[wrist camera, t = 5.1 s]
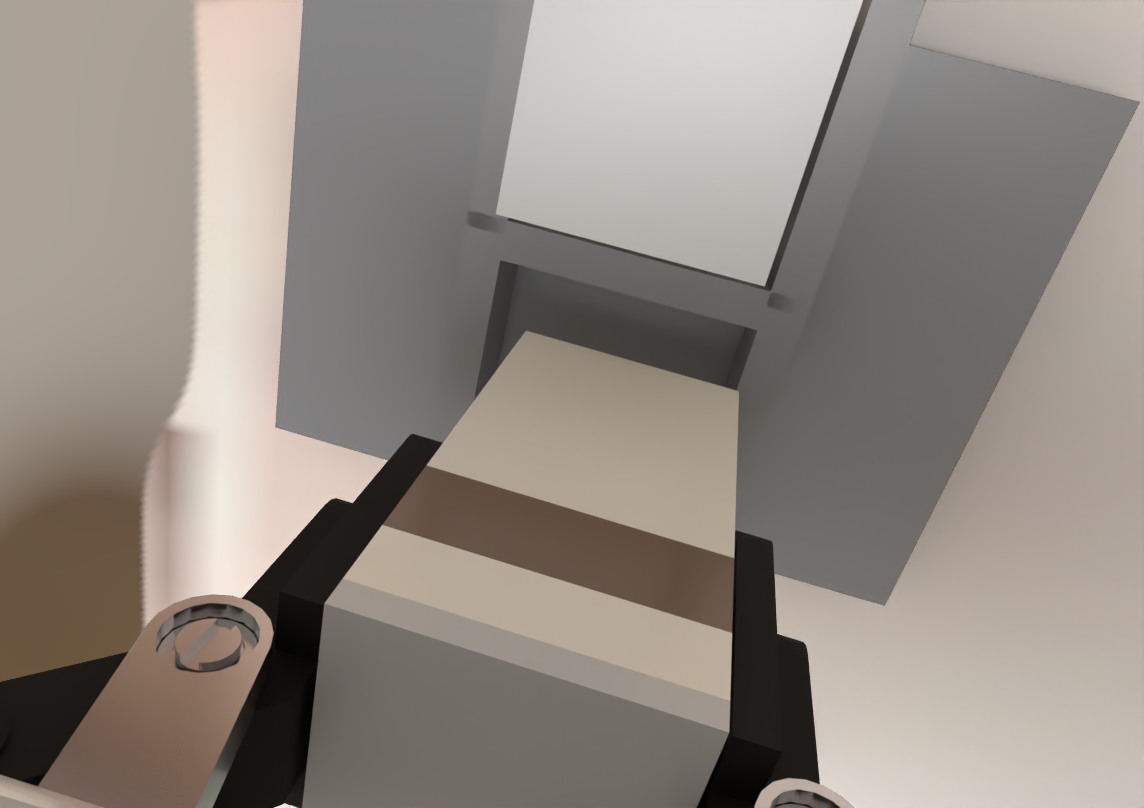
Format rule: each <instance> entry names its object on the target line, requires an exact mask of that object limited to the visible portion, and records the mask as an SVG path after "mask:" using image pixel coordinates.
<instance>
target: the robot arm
mask: <svg viewBox="0 0 1144 808" xmlns="http://www.w3.org/2000/svg"><path fill="white" fill-rule="evenodd" d="M442 444H443V442H439V441H436V440H433V439H429V438H426V437H423V436H419V435H416V434H411V435H410V436H408V438H407V439H406V440H405V441H404V442H403V444H402V445H401V446H400V447H399V448H398V450H397V451H396V452H395V453H394V454H393V456H392V457H391V458H390V459H389V460H388V462H387V463H386V464H385V465H384V466H383V468H382V469H381V470H380V471H379V472H378V474H377V475H376V476H375V477H374V478H373V480H372V481H371V482H370V483H369V484H368V486H367V487H366V488H365V489H364V490H363V492H362V493H361V494H360V495H359V496H358V498H357V499H356V500H355V501H354V502H353V503H350V502H346V501H343V500H340V499H337V498H336V499H331V500H330V501H329V502H328V503H327V504H326V505H325V506H324V507H323V508H322V509H321V510H320V511H319V512H318V513H317V515H316V516H315V517H314V518H313V519H312V520H311V521H310V522H309V524H308V525H307V526H306V527H305V528H304V529H303V530H302V531H301V533H300V534H299V535H298V536H297V537H296V538H295V539H294V540H293V542H292V543H291V544H290V545H289V546H288V547H287V548H286V549H285V551H284V552H283V553H282V554H281V555H280V556H279V557H278V558H277V560H276V561H275V562H274V563H273V564H272V565H271V566H270V567H269V569H268V570H267V571H266V572H265V573H264V574H263V575H262V576H261V578H260V579H259V580H258V581H257V582H256V583H255V584H254V585H253V587H252V588H251V589H250V590H249V591H248V592H247V593H246V594H245V596H244V597H243V598H242V599H241V598H238V597H234V596H227V595H205V596H198V597H192V598H189V599H186V600H183V601H180V602H177V603H174V604H172V605H171V606H169V607H168V608H166V609H164V610H163V611H161V612H159V613H158V614H157V615H156V616H155V617H154V618H153V619H152V620H151V621H150V622H149V623H148V624H147V625H146V627H145V628H144V630H143V631H142V633H141V634H140V636H139V637H138V639H137V640H136V642H135V643H134V645H133V646H132V648H131V649H130V651H129V652H126V653H121V654H118V655H113V656H109V657H104V658H101V659H96V660H92V661H87V662H83V663H79V664H75V665H70V666H66V667H62V668H58V669H53V670H49V671H45V672H41V673H36V674H32V675H28V676H24V677H20V678H16V679H11V680H7V681H2V682H0V808H274V807H277V806H279V805H282V804H284V803H285V804H288V805H291V806H294V807H297V808H302V804H303V795H304V786H305V777H306V768H307V758H308V749H309V740H310V731H311V722H312V713H313V704H314V694H315V685H316V676H317V667H318V658H319V649H320V640H321V630H322V621H323V612H324V603H325V602H326V601H327V599H328V598H329V597H330V595H331V594H332V593H333V591H334V590H335V588H336V587H337V586H338V584H339V583H340V582H341V580H342V579H343V578H344V576H345V575H346V574H347V572H348V571H349V570H350V568H351V567H352V565H353V564H354V563H355V561H356V560H357V559H358V557H359V556H360V555H361V553H362V552H363V551H364V549H365V548H366V546H367V545H368V544H369V542H370V541H371V540H372V538H373V537H374V536H375V534H376V533H377V532H378V530H379V529H380V528H381V526H382V525H383V523H384V522H385V521H386V519H387V518H388V517H389V515H390V514H391V513H392V511H393V510H394V509H395V507H396V506H397V505H398V503H399V502H400V500H401V499H402V498H403V496H404V495H405V494H406V492H407V491H408V490H409V488H410V487H411V486H412V484H413V483H414V482H415V480H416V479H417V477H418V476H419V475H420V473H421V472H422V471H423V469H424V468H425V467H426V465H427V464H428V463H429V461H430V460H431V458H432V457H433V456H434V454H435V453H436V452H437V450H438V449H439V448H440V446H441V445H442ZM697 808H854V807H853V806H852V805H851V804H850V803H849V802H847V801H846V800H845V799H844V798H843V797H842V796H840V795H838V794H837V793H835V792H833V791H832V790H830V789H828V788H827V787H825V786H823V785H820V782H819V771H818V760H817V749H816V738H815V727H814V716H813V706H812V695H811V684H810V673H809V662H808V653H807V648H806V645H805V644H804V643H803V642H801V641H798V640H795V639H792V638H788V637H785V636H782V635H779V634H777V622H776V599H775V577H774V554H773V542H772V541H771V540H767V539H764V538H761V537H757V536H754V535H751V534H747V533H744V532H741V531H737V530H736V531H735V549H734V584H733V620H732V655H731V690H730V726H729V734H728V737H727V739H726V741H725V744H724V746H723V748H722V750H721V753H720V755H719V757H718V760H717V762H716V764H715V767H714V769H713V771H712V773H711V776H710V778H709V780H708V783H707V785H706V787H705V790H704V792H703V794H702V796H701V799H700V801H699V803H698V806H697Z"/></svg>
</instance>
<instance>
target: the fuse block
mask: <svg viewBox="0 0 1144 808" xmlns="http://www.w3.org/2000/svg"><path fill="white" fill-rule="evenodd" d="M925 1H926V0H303V14H302V29H301V44H300V60H299V75H298V90H297V105H296V121H295V136H294V151H293V167H292V182H291V197H290V212H289V228H288V243H287V258H286V274H285V289H284V304H283V319H282V335H281V350H280V365H279V381H278V396H277V411H276V426H275V427H276V428H280V429H283V430H286V431H290V432H293V433H297V434H300V435H304V436H307V437H310V438H314V439H317V440H321V441H324V442H327V443H331V444H334V445H338V446H341V447H345V448H348V449H351V450H355V451H358V452H362V453H365V454H368V455H372V456H375V457H379V458H382V459H385V460H389V459H390V458H391V457H392V456H393V454H394V453H395V452H396V451H397V450H398V448H399V447H400V446H401V445H402V444H403V442H404V441H405V440H406V439H407V438H408V436H410V435H411V434H416V435H419V436H423V437H426V438H429V439H433V440H436V441H439V442H444V441H445V440H446V438H447V437H448V435H449V434H450V433H451V431H452V430H453V429H454V427H455V426H456V425H457V423H458V422H459V421H460V419H461V418H462V417H463V415H464V414H465V412H466V411H467V410H468V408H469V407H470V406H471V404H472V403H473V402H474V400H475V399H476V398H477V396H478V395H479V394H480V392H481V391H482V389H483V388H484V387H485V385H486V384H487V383H488V381H489V380H490V379H491V377H492V376H493V375H494V373H495V372H496V370H497V369H498V368H499V366H500V365H501V364H502V362H503V361H504V360H505V358H506V357H507V356H508V354H509V353H510V352H511V350H512V349H513V347H514V346H515V345H516V343H517V342H518V341H519V339H520V338H521V337H522V335H523V334H524V333H525V331H529V332H533V333H536V334H540V335H543V336H547V337H550V338H554V339H557V340H561V341H564V342H568V343H571V344H575V345H578V346H582V347H585V348H589V349H592V350H596V351H599V352H603V353H606V354H610V355H613V356H617V357H620V358H624V359H627V360H631V361H634V362H638V363H641V364H645V365H648V366H652V367H655V368H659V369H662V370H666V371H670V372H673V373H677V374H680V375H684V376H687V377H691V378H694V379H698V380H701V381H705V382H708V383H712V384H715V385H719V386H722V387H726V388H729V389H733V390H736V391H739V408H738V443H737V478H736V514H735V531H736V530H737V531H741V532H744V533H747V534H751V535H754V536H757V537H761V538H764V539H767V540H771V541H772V542H773V554H774V573H775V574H778V575H782V576H785V577H788V578H792V579H795V580H799V581H802V582H805V583H809V584H812V585H816V586H819V587H823V588H826V589H829V590H833V591H836V592H840V593H843V594H846V595H850V596H853V597H857V598H860V599H864V600H867V601H870V602H874V603H877V604H881V605H884V606H885V604H886V602H887V600H888V598H889V596H890V594H891V592H892V590H893V588H894V586H895V584H896V583H897V581H898V579H899V577H900V575H901V573H902V571H903V569H904V567H905V565H906V563H907V561H908V559H909V557H910V555H911V553H912V551H913V549H914V547H915V545H916V543H917V541H918V539H919V537H920V535H921V533H922V531H923V529H924V527H925V525H926V523H927V521H928V519H929V517H930V515H931V513H932V511H933V509H934V508H935V506H936V504H937V502H938V500H939V498H940V496H941V494H942V492H943V490H944V488H945V486H946V484H947V482H948V480H949V478H950V476H951V474H952V472H953V470H954V468H955V466H956V464H957V462H958V460H959V458H960V456H961V454H962V452H963V450H964V448H965V446H966V444H967V442H968V440H969V438H970V436H971V434H972V433H973V431H974V429H975V427H976V425H977V423H978V421H979V419H980V417H981V415H982V413H983V411H984V409H985V407H986V405H987V403H988V401H989V399H990V397H991V395H992V393H993V391H994V389H995V387H996V385H997V383H998V381H999V379H1000V377H1001V375H1002V373H1003V371H1004V369H1005V367H1006V365H1007V363H1008V361H1009V359H1010V357H1011V356H1012V354H1013V352H1014V350H1015V348H1016V346H1017V344H1018V342H1019V340H1020V338H1021V336H1022V334H1023V332H1024V330H1025V328H1026V326H1027V324H1028V322H1029V320H1030V318H1031V316H1032V314H1033V312H1034V310H1035V308H1036V306H1037V304H1038V302H1039V300H1040V298H1041V296H1042V294H1043V292H1044V290H1045V288H1046V286H1047V284H1048V282H1049V281H1050V279H1051V277H1052V275H1053V273H1054V271H1055V269H1056V267H1057V265H1058V263H1059V261H1060V259H1061V257H1062V255H1063V253H1064V251H1065V249H1066V247H1067V245H1068V243H1069V241H1070V239H1071V237H1072V235H1073V233H1074V231H1075V229H1076V227H1077V225H1078V223H1079V221H1080V219H1081V217H1082V215H1083V213H1084V211H1085V209H1086V207H1087V206H1088V204H1089V202H1090V200H1091V198H1092V196H1093V194H1094V192H1095V190H1096V188H1097V186H1098V184H1099V182H1100V180H1101V178H1102V176H1103V174H1104V172H1105V170H1106V168H1107V166H1108V164H1109V162H1110V160H1111V158H1112V156H1113V154H1114V152H1115V150H1116V148H1117V146H1118V144H1119V142H1120V140H1121V138H1122V136H1123V134H1124V132H1125V131H1126V129H1127V127H1128V125H1129V123H1130V121H1131V119H1132V117H1133V115H1134V113H1135V111H1136V109H1137V107H1138V105H1139V103H1140V102H1138V101H1134V100H1130V99H1126V98H1122V97H1118V96H1114V95H1110V94H1106V93H1102V92H1098V91H1094V90H1089V89H1085V88H1081V87H1077V86H1073V85H1069V84H1065V83H1061V82H1057V81H1053V80H1049V79H1045V78H1041V77H1037V76H1033V75H1029V74H1025V73H1021V72H1017V71H1013V70H1009V69H1004V68H1000V67H996V66H992V65H988V64H984V63H980V62H976V61H972V60H968V59H964V58H960V57H956V56H952V55H948V54H944V53H940V52H936V51H932V50H928V49H924V48H919V47H915V46H911V45H909V44H910V41H911V39H912V36H913V33H914V31H915V28H916V25H917V23H918V20H919V17H920V15H921V12H922V9H923V7H924V4H925Z"/></svg>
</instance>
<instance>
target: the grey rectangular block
mask: <svg viewBox="0 0 1144 808" xmlns="http://www.w3.org/2000/svg"><path fill="white" fill-rule="evenodd" d="M738 408H739V391H736V390H733V389H729V388H726V387H722V386H719V385H715V384H712V383H708V382H705V381H701V380H698V379H694V378H691V377H687V376H684V375H680V374H677V373H673V372H670V371H666V370H662V369H659V368H655V367H652V366H648V365H645V364H641V363H638V362H634V361H631V360H627V359H624V358H620V357H617V356H613V355H610V354H606V353H603V352H599V351H596V350H592V349H589V348H585V347H582V346H578V345H575V344H571V343H568V342H564V341H561V340H557V339H554V338H550V337H547V336H543V335H540V334H536V333H533V332H529V331H525V333H524V334H523V335H522V337H521V338H520V339H519V341H518V342H517V343H516V345H515V346H514V347H513V349H512V350H511V352H510V353H509V354H508V356H507V357H506V358H505V360H504V361H503V362H502V364H501V365H500V366H499V368H498V369H497V370H496V372H495V373H494V375H493V376H492V377H491V379H490V380H489V381H488V383H487V384H486V385H485V387H484V388H483V389H482V391H481V392H480V394H479V395H478V396H477V398H476V399H475V400H474V402H473V403H472V404H471V406H470V407H469V408H468V410H467V411H466V412H465V414H464V415H463V417H462V418H461V419H460V421H459V422H458V423H457V425H456V426H455V427H454V429H453V430H452V431H451V433H450V434H449V435H448V437H447V438H446V440H445V441H444V442H443V444H442V445H441V446H440V448H439V449H438V450H437V452H436V453H435V454H434V456H433V457H432V458H431V460H430V461H429V463H428V464H427V465H426V467H425V468H424V469H423V471H422V472H421V473H420V475H419V476H418V477H417V479H416V480H415V482H414V483H413V484H412V486H411V487H410V488H409V490H408V491H407V492H406V494H405V495H404V496H403V498H402V499H401V500H400V502H399V503H398V505H397V506H396V507H395V509H394V510H393V511H392V513H391V514H390V515H389V517H388V518H387V519H386V521H385V522H384V523H383V525H382V526H381V528H380V529H379V530H378V532H377V533H376V534H375V536H374V537H373V538H372V540H371V541H370V542H369V544H368V545H367V546H366V548H365V549H364V551H363V552H362V553H361V555H360V556H359V557H358V559H357V560H356V561H355V563H354V564H353V565H352V567H351V568H350V570H349V571H348V572H347V574H346V575H345V576H344V578H343V579H342V580H341V582H340V583H339V584H338V586H337V587H336V588H335V590H334V591H333V593H332V594H331V595H330V597H329V598H328V599H327V601H326V602H325V603H324V612H323V621H322V630H321V640H320V649H319V658H318V667H317V676H316V685H315V694H314V704H313V713H312V722H311V731H310V740H309V749H308V758H307V768H306V777H305V786H304V795H303V804H302V808H697V806H698V803H699V801H700V799H701V796H702V794H703V792H704V790H705V787H706V785H707V783H708V780H709V778H710V776H711V773H712V771H713V769H714V767H715V764H716V762H717V760H718V757H719V755H720V753H721V750H722V748H723V746H724V744H725V741H726V739H727V737H728V734H729V726H730V690H731V655H732V620H733V584H734V549H735V514H736V478H737V443H738Z"/></svg>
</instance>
